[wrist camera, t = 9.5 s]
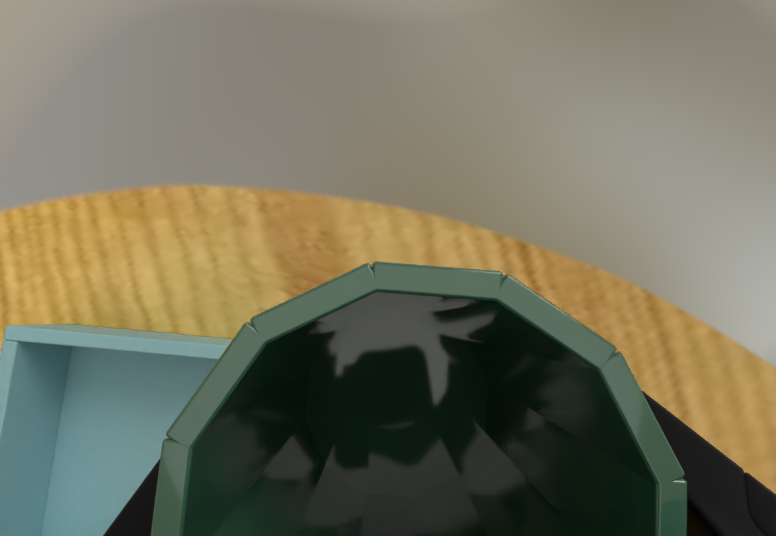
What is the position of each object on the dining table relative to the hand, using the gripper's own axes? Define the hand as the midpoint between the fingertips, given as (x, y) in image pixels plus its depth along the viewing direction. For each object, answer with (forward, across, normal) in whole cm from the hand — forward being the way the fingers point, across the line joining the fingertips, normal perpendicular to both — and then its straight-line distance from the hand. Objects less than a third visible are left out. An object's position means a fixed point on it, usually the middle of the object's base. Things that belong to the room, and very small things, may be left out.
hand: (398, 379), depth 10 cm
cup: (+3, 0, +5) cm, 6 cm away
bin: (+7, +11, +12) cm, 18 cm away
